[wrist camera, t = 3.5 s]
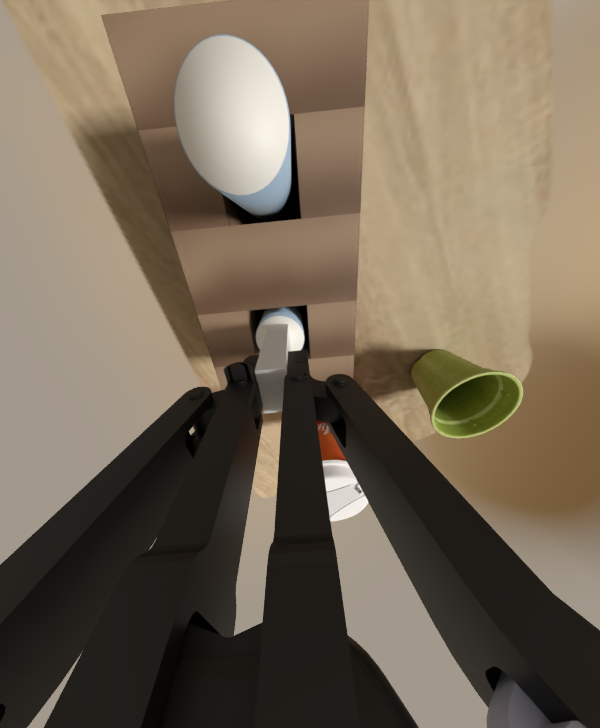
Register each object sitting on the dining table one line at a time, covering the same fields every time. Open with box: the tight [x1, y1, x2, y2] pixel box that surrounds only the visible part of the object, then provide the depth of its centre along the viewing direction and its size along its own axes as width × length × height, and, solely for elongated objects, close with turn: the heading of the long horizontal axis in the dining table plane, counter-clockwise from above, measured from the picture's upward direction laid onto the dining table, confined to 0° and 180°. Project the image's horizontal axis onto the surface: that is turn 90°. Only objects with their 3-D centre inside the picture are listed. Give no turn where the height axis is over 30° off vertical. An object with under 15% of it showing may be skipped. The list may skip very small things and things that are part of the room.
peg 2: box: [256, 306, 305, 351], centre depth 21 cm, size 4×4×10 cm
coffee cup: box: [317, 421, 368, 521], centre depth 27 cm, size 8×8×15 cm
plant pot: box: [411, 350, 523, 438], centre depth 27 cm, size 9×9×9 cm
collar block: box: [101, 0, 369, 390], centre depth 19 cm, size 22×12×10 cm, turn 5°
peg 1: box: [174, 34, 291, 221], centre depth 12 cm, size 4×4×10 cm
